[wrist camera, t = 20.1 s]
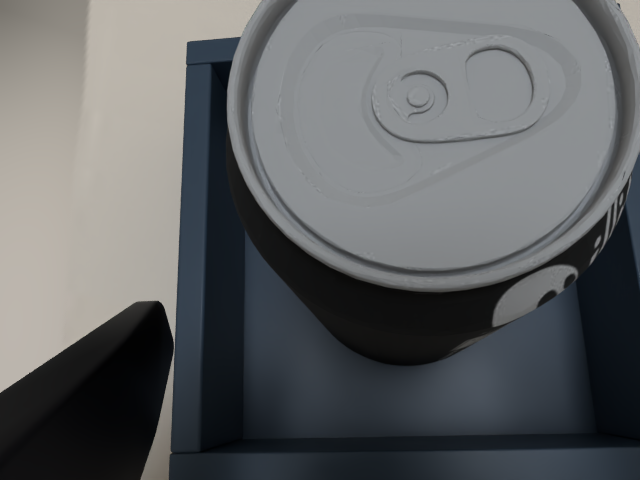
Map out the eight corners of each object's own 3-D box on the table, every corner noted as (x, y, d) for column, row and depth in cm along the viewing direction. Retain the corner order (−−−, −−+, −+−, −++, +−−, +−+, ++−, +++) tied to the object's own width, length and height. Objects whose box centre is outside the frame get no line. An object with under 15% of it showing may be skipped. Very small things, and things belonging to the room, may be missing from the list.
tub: (621, 458, 18) (710, 483, 13) (223, 463, 19) (167, 488, 14) (565, 93, 21) (620, 2, 16) (230, 118, 22) (186, 41, 17)
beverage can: (296, 192, 21) (182, -65, 9) (480, 163, 20) (609, -149, 9) (319, 379, 19) (214, 357, 7) (522, 352, 18) (757, 281, 7)
